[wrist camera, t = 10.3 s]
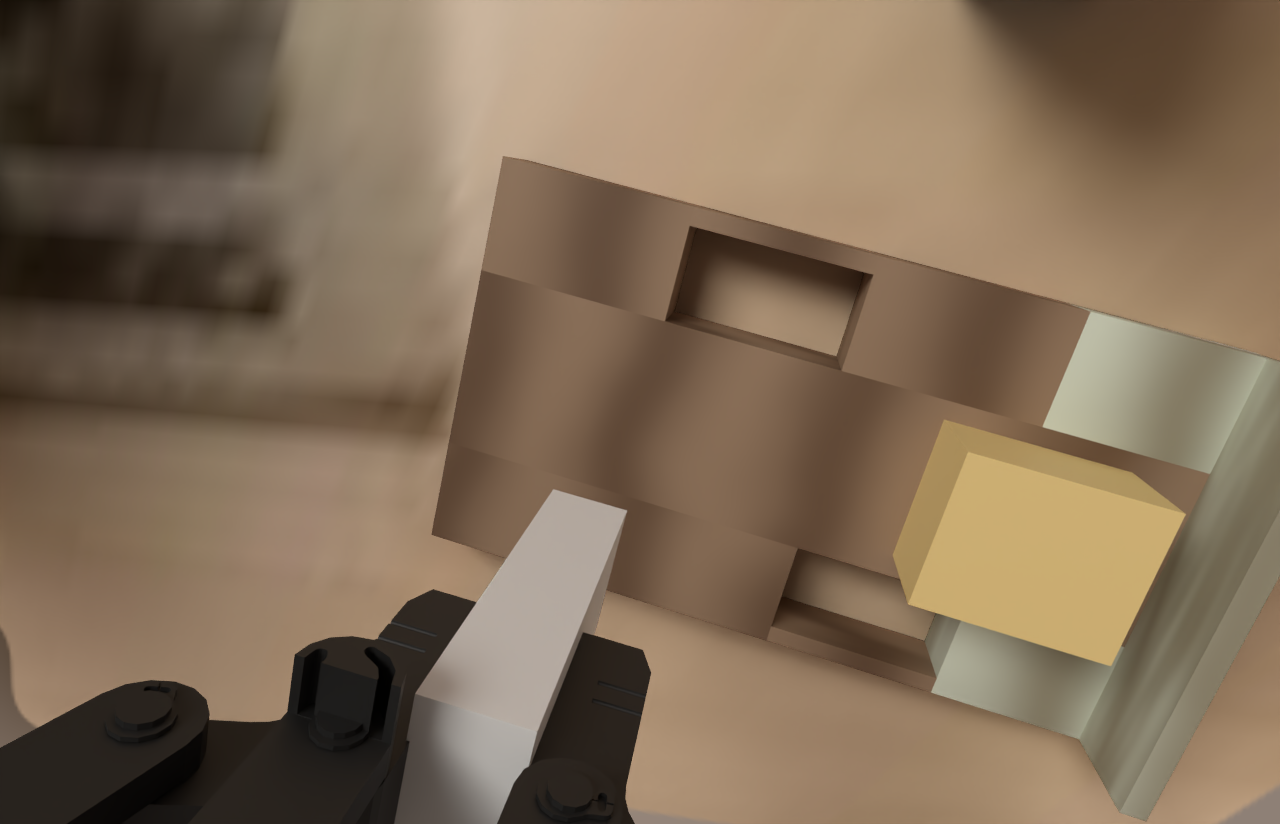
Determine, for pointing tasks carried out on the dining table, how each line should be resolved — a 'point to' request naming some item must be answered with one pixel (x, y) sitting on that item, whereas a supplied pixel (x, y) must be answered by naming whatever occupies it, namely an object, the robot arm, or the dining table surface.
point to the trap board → (855, 452)
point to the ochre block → (1033, 542)
